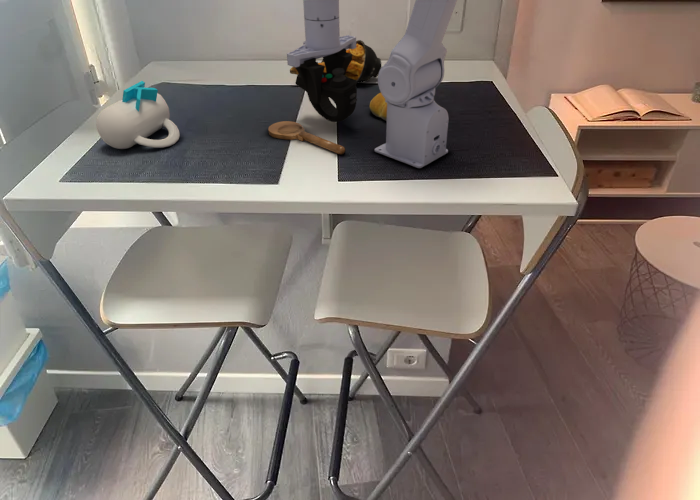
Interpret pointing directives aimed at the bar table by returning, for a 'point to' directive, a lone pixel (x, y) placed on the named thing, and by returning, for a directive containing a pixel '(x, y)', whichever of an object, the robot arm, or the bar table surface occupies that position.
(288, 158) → the bar table surface
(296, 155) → the bar table surface
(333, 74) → the controller
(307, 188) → the bar table surface
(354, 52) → the fried shrimp in bowl
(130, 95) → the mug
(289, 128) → the spoon
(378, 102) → the bread roll
